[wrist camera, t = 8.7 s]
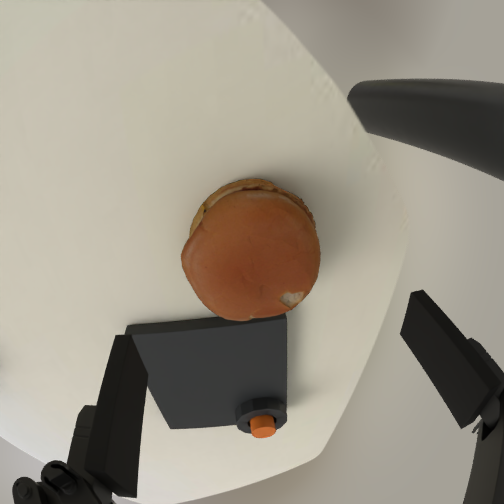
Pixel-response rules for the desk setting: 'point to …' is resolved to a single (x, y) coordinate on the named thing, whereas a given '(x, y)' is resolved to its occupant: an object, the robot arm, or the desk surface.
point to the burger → (252, 251)
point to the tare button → (262, 426)
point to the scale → (216, 370)
